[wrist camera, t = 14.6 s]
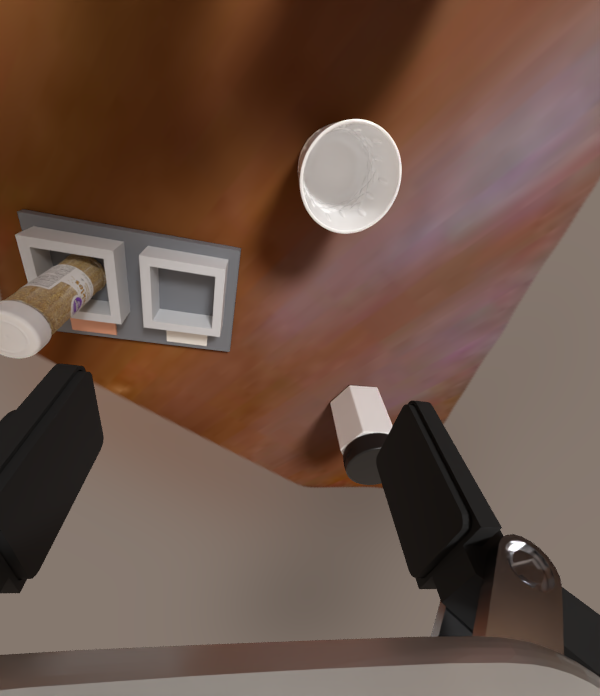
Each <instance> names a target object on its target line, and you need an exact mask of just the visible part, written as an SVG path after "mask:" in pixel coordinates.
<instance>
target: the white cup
mask: <svg viewBox="0 0 600 696" xmlns="http://www.w3.org/2000/svg"><path fill="white" fill-rule="evenodd" d="M401 174H402V167H401V159H400V155H399V151H398V149H397V146H396V144H395V142H394V141H393V139H392V138H391V136H390V135H389V134H388V133H387V132H386V131H385V130H384V129H383V128H382V127H380V126H379V125H377V124H375V123H373V122H371V121H368V120H363V119H348V120H343V121H340V122H335V123H332V124H329V125H327V126H325V127H323V128H321V129H319V130H317V131H316V132H315V133H314V134H313V135H312V136H310V137H309V138H308V139H307V141H306V143H305V145H304V146H303V148H302V150H301V152H300V155H299V162H298V182H299V187H300V192H301V197H302V201H303V203H304V206H305V208H306V210H307V212H308V213H309V215H310V216H311V217H312V218H313V220H314V221H315V222H316V223H318V224H319V225H320V226H322V227H323V228H325V229H327V230H329V231H332V232H336V233H342V234H349V233H356V232H360V231H362V230H365V229H367V228H369V227H371V226H372V225H374V224H375V223H377V222H378V221H379V220H380V219H381V218H382V217H383V216H384V215H385V214H386V213H387V212H388V210H389V209H390V207H391V206H392V204H393V202H394V200H395V198H396V196H397V193H398V190H399V187H400V182H401Z"/></svg>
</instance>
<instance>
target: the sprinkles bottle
mask: <svg viewBox="0 0 600 696" xmlns="http://www.w3.org/2000/svg"><path fill="white" fill-rule="evenodd" d="M105 284H106V275H105V270H104V268H103V267H102V265H101V264H100V263H99V262H98V261H97V260H95V259H94V258H92V257H89V256H83V255H77V254H71V255H69V256H67V257H66V258H65V259H64V260H63V261H62V262H61V263H59V264H58V265H56V266H54V267H52V268H50V269H49V270H47V271H46V272H44V273H42V274H41V275H40V276H38V277H37V278H35V279H34V280H32V281H31V282H29V283H28V284H26V285H24V286H23V287H22V288H20V289H19V290H18V291H17V292H15V293H14V294H12V295H11V296H9V297H8V298H7V299H5V300H2V301H0V355H3V356H6V357H10V358H17V359H21V358H28V357H31V356H33V355H35V354H36V353H38V352H39V351H40V350H41V349H42V348H43V347H44V346H45V345H46V344H47V343H48V342H49V341H50V338H51V336H52V334H54V333H55V332H56V331H57V330H58V329H59V328H60V327H61V326H62V325H63V324H64V323H65V322H66V321H67V320H68V319H69V318H71V317H72V316H73V315H74V314H75V313H77V312H78V311H79V310H80V309H81V308H82V307H83V306H84V305H85V304H86V303H87V302H88V301H89V300H90V299H91V298H92V296H93V295H94V294H96V292H98V291H100V290H101V289H102V288H103V287H104V286H105Z"/></svg>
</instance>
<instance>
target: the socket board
mask: <svg viewBox="0 0 600 696" xmlns="http://www.w3.org/2000/svg"><path fill="white" fill-rule="evenodd" d="M17 213H18V217H19V221H20V225H21V229H22V232H20V233H17V234H15V237H16V240H17V244H18V248H19V251H20V255H21V259H22V262H23V266H24V270H25V273H26V277H27V281H28V283H29V282H31V281H32V280H34V279H35V278H37V277H38V276H40V275H41V274H42V273H44V272H46V271H47V270H49V269H50V268H52V267H54V266H56V265H58V264H59V263H61V262H62V261H63V260H64V259H65V258H66V257H67V256H69V255H71V254H77V255H83V256H89V257H92V258H94V259H95V260H97V261H98V262H99V263H100V264H101V265H102V267H103V268H104V270H105V275H106V284H105V286H104V287H103V288H102V289H101V290H100V291H98V292H96V294H94V295H93V296H92V298H91V299H90V300H89V301H88V302H87V303H86V304H85V305H84V306H83V307H82V308H81V309H80V310H79V311H78V312H77V313H75V314H74V315H73V316H72V317H71V318H69V319H68V320H67V321H66V322H65V323H64V324H63V325H62V326H61V327H60V328H59V329H58V330H57V331H61V332H69V333H77V334H86V335H94V336H102V337H110V338H119V339H127V340H135V341H143V342H152V343H160V344H168V345H176V346H185V347H193V348H201V349H210V350H218V351H226V352H230V345H231V336H232V327H233V317H234V308H235V299H236V290H237V281H238V271H239V262H240V253H241V248H237V247H232V246H226V245H220V244H215V243H209V242H204V241H198V240H192V239H187V238H181V237H176V236H170V235H164V234H159V233H153V232H148V231H142V230H136V229H131V228H125V227H120V226H114V225H108V224H103V223H97V222H92V221H86V220H81V219H75V218H69V217H64V216H58V215H53V214H47V213H41V212H36V211H30V210H25V209H23V210H20V211H17Z"/></svg>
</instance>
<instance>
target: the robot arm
mask: <svg viewBox="0 0 600 696" xmlns="http://www.w3.org/2000/svg"><path fill="white" fill-rule="evenodd" d="M102 444H103V432H102V426H101V421H100V416H99V411H98V405H97V400H96V395H95V389H94V384H93V379H92V375H91V373H90V372H86V371H85V368H84V367H83V366H77V365H68V364H56V365H55V366H54V367H53V368H52V369H51V370H50V371H49V373H48V374H47V375H46V376H45V377H44V378H43V380H42V381H41V382H40V383H39V384H38V385H37V386H36V388H35V389H34V390H33V391H32V392H31V393H30V395H29V396H28V397H27V398H26V399H25V400H24V401H23V403H22V404H21V405H20V406H19V407H18V408H17V410H14V411H11V412H9V413H8V414H7V415H6V416H5V417H4V418H3V419H2V420H1V421H0V593H20V591H21V590H22V588H23V586H24V584H25V582H26V580H27V579H31V578H33V577H34V576H35V575H36V574H37V573H38V571H39V569H40V568H41V566H42V564H43V562H44V560H45V558H46V556H47V554H48V552H49V550H50V548H51V546H52V544H53V542H54V540H55V538H56V536H57V534H58V532H59V530H60V528H61V526H62V524H63V522H64V520H65V519H66V517H67V515H68V513H69V511H70V509H71V506H72V504H73V503H74V501H75V499H76V497H77V495H78V493H79V491H80V489H81V487H82V485H83V483H84V481H85V479H86V477H87V475H88V473H89V471H90V469H91V467H92V465H93V463H94V461H95V460H96V457H97V456H98V454H99V452H100V450H101V447H102ZM376 466H377V469H378V472H379V476H380V479H381V482H382V485H383V489H384V492H385V495H386V498H387V501H388V505H389V508H390V511H391V514H392V517H393V521H394V524H395V527H396V530H397V534H398V537H399V540H400V543H401V547H402V550H403V553H404V555H405V559H406V563H407V566H408V569H409V572H410V574H411V575H412V576H413V577H415V578H416V581H417V584H418V587H419V589H437V591H438V594H439V597H440V599H441V600H440V604H439V607H438V611H437V615H436V619H435V623H434V626H433V630H432V633H431V637H404V638H403V637H402V638H374V639H343V640H315V641H289V642H263V643H237V644H212V645H190V646H189V645H188V646H165V647H142V648H121V649H120V648H119V649H98V650H97V649H96V650H75V651H58V652H42V653H26V654H9V655H0V696H600V615H599V614H598V613H596V612H595V611H594V610H592V609H591V608H590V607H588V606H587V605H586V604H584V603H583V602H582V601H580V600H579V599H577V598H576V597H575V596H573V595H572V594H571V593H569V592H568V591H567V590H565V589H564V588H563V587H562V584H561V579H560V576H559V574H558V572H557V570H556V567H555V566H554V565H553V563H552V562H551V560H550V559H549V557H548V556H547V555H546V554H545V553H544V552H543V551H542V550H541V549H540V548H539V547H537V546H536V545H535V544H533V543H532V542H531V541H529V540H527V539H525V538H523V537H522V536H518V535H514V534H510V535H505V536H503V534H502V533H501V531H500V529H501V528H502V527H501V525H500V524H499V522H498V520H497V519H496V517H495V515H494V513H493V512H492V510H491V508H490V506H489V505H488V503H487V501H486V499H485V497H484V496H483V494H482V492H481V490H480V489H479V487H478V485H477V483H476V482H475V480H474V478H473V476H472V475H471V473H470V471H469V469H468V468H467V466H466V464H465V462H464V461H463V459H462V457H461V455H460V454H459V452H458V450H457V448H456V446H455V445H454V443H453V441H452V440H451V438H450V436H449V434H448V432H447V431H446V429H445V427H444V425H443V424H442V422H441V420H440V418H439V417H438V415H437V413H436V411H435V410H434V408H433V406H432V405H431V404H430V403H429V402H421V401H410V402H409V403H408V404H407V405H404V406H403V408H402V410H401V411H400V413H399V415H398V417H397V419H396V421H395V423H394V425H393V426H392V428H391V430H390V432H389V434H388V436H387V438H386V440H385V441H384V443H383V445H382V447H381V449H380V451H379V453H378V455H377V458H376Z"/></svg>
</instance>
